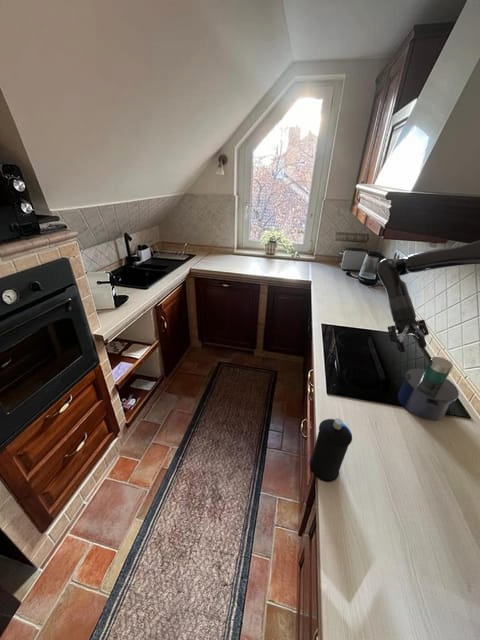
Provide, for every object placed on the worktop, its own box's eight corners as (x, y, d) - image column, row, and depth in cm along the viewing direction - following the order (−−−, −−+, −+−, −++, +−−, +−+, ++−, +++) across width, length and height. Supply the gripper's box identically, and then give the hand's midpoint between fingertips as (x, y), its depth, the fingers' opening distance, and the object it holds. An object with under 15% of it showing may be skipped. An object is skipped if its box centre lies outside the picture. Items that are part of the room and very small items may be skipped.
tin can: (439, 380, 91) (451, 359, 86) (442, 391, 86) (455, 370, 81) (419, 375, 93) (430, 354, 89) (421, 385, 89) (432, 364, 84)
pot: (441, 394, 99) (452, 374, 94) (450, 431, 85) (465, 410, 80) (395, 381, 105) (404, 362, 100) (397, 413, 91) (407, 392, 85)
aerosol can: (327, 488, 68) (345, 442, 58) (303, 465, 74) (315, 419, 64) (344, 469, 73) (362, 423, 63) (320, 448, 78) (333, 403, 68)
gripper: (391, 309, 93) (403, 353, 91) (425, 303, 95) (438, 345, 93) (378, 313, 100) (389, 353, 98) (410, 306, 102) (422, 346, 100)
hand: (413, 349), depth 95 cm, fingers open, 8 cm apart
